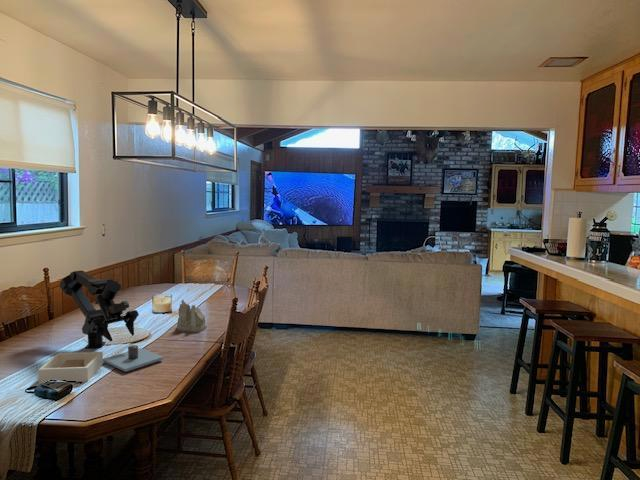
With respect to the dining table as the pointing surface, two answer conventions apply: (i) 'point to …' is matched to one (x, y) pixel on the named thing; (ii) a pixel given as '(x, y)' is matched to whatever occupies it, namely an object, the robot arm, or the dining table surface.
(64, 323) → the dining table surface
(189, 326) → the grey jagged lump
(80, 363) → the box
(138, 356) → the lid
